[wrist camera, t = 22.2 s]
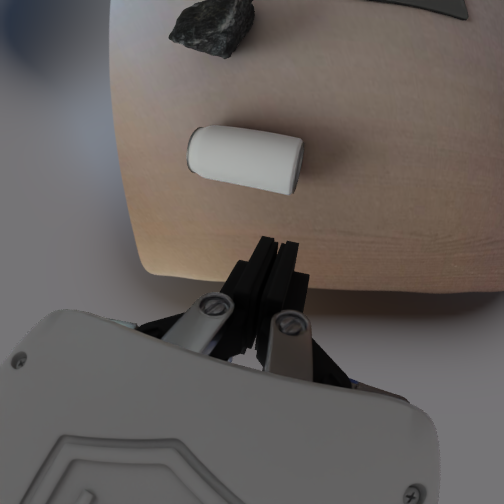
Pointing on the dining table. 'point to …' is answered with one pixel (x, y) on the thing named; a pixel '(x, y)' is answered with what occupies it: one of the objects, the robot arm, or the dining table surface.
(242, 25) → the rock
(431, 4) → the smartphone
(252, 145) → the can
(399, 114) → the dining table surface
